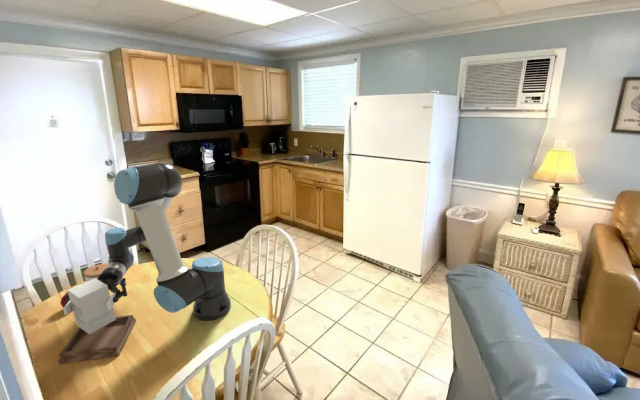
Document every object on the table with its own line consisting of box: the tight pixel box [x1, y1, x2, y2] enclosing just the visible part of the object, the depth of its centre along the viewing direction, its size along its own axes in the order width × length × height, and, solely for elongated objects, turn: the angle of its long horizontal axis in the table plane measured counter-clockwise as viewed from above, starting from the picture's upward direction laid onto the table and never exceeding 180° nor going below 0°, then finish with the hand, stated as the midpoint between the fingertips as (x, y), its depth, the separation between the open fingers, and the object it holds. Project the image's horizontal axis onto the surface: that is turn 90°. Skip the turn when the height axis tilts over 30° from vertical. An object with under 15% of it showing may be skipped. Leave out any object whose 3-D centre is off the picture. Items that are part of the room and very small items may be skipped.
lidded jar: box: [83, 263, 109, 282], centre depth 147 cm, size 11×11×9 cm
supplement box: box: [67, 278, 116, 334], centre depth 109 cm, size 9×9×15 cm
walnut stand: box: [57, 314, 137, 365], centre depth 114 cm, size 18×18×4 cm
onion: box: [60, 291, 68, 308], centre depth 130 cm, size 6×6×8 cm
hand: (86, 309), depth 106 cm, fingers closed on supplement box, 12 cm apart
